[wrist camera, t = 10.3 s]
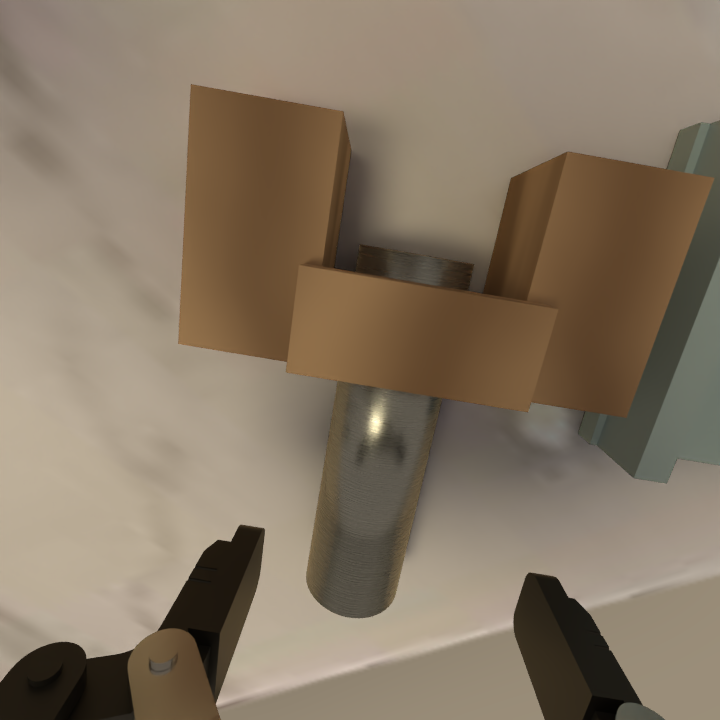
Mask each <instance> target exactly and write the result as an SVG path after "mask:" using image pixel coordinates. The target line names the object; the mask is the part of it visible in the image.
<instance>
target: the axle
mask: <svg viewBox="0 0 720 720" xmlns="http://www.w3.org/2000/svg"><path fill="white" fill-rule="evenodd" d="M473 267H474V264H470V263H464V262H459V261H453V260H448V259H442V258H436V257H431V256H425V255H419V254H414V253H408V252H402V251H397V250H391V249H385V248H379V247H374V246H368V245H362V244H360V247H359V253H358V259H357V265H356V271H355V272H358V273H364V274H370V275H376V276H382V277H387V278H393V279H399V280H405V281H411V282H417V283H423V284H429V285H434V286H440V287H446V288H452V289H458V290H464V291H468V288H469V284H470V280H471V276H472V271H473ZM441 402H442V398H438V397H432V396H426V395H420V394H414V393H408V392H402V391H396V390H390V389H384V388H378V387H372V386H366V385H360V384H354V383H348V382H341V381H338V382H337V388H336V394H335V400H334V406H333V413H332V419H331V425H330V431H329V437H328V443H327V449H326V456H325V462H324V468H323V474H322V480H321V486H320V492H319V499H318V505H317V511H316V517H315V523H314V529H313V535H312V541H311V548H310V554H309V560H308V566H307V572H306V580H307V585H308V588H309V590H310V592H311V594H312V595H313V597H314V598H315V599H316V600H317V601H318V602H319V603H320V604H321V605H322V606H323V607H325V608H326V609H328V610H329V611H331V612H333V613H336V614H338V615H341V616H345V617H350V618H366V617H371V616H374V615H377V614H379V613H381V612H383V611H384V610H386V609H387V608H388V607H389V606H390V604H391V603H392V602H393V600H394V598H395V594H396V591H397V586H398V582H399V578H400V574H401V570H402V565H403V561H404V557H405V553H406V549H407V544H408V540H409V536H410V532H411V528H412V523H413V519H414V515H415V511H416V507H417V502H418V498H419V494H420V490H421V486H422V481H423V477H424V473H425V469H426V465H427V460H428V456H429V452H430V448H431V444H432V439H433V435H434V431H435V427H436V423H437V418H438V414H439V410H440V406H441Z"/></svg>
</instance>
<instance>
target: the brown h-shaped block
mask: <svg viewBox="0 0 720 720" xmlns="http://www.w3.org/2000/svg"><path fill="white" fill-rule="evenodd" d="M350 155H351V146H350V141H349V137H348V132H347V127H346V122H345V117H344V112H343V111H337V110H332V109H326V108H321V107H315V106H309V105H304V104H298V103H293V102H287V101H281V100H276V99H270V98H264V97H259V96H253V95H248V94H242V93H236V92H231V91H225V90H220V89H214V88H208V87H203V86H197V85H192V84H191V94H190V114H189V135H188V156H187V176H186V197H185V217H184V238H183V259H182V279H181V300H180V321H179V341H178V344H183V345H189V346H195V347H201V348H207V349H213V350H219V351H225V352H231V353H237V354H243V355H249V356H255V357H261V358H267V359H273V360H279V361H285V362H287V367H286V372H287V373H293V374H299V375H305V376H311V377H317V378H323V379H329V380H335V381H341V382H348V383H354V384H360V385H366V386H372V387H378V388H384V389H390V390H396V391H402V392H408V393H414V394H420V395H426V396H432V397H438V398H444V399H451V400H457V401H463V402H469V403H475V404H481V405H487V406H493V407H499V408H505V409H511V410H517V411H523V412H528V411H529V407H530V404H531V402H533V403H539V404H545V405H551V406H557V407H563V408H569V409H575V410H581V411H587V412H593V413H599V414H605V415H611V416H617V417H624V418H627V415H628V412H629V410H630V407H631V404H632V401H633V399H634V396H635V393H636V391H637V388H638V385H639V382H640V380H641V377H642V374H643V372H644V369H645V366H646V363H647V361H648V358H649V355H650V352H651V350H652V347H653V344H654V342H655V339H656V336H657V333H658V331H659V328H660V325H661V322H662V320H663V317H664V314H665V312H666V309H667V306H668V303H669V301H670V298H671V295H672V293H673V290H674V287H675V284H676V282H677V279H678V276H679V273H680V271H681V268H682V265H683V263H684V260H685V257H686V254H687V252H688V249H689V246H690V244H691V241H692V238H693V235H694V233H695V230H696V227H697V224H698V222H699V219H700V216H701V214H702V211H703V208H704V205H705V203H706V200H707V197H708V194H709V192H710V189H711V186H712V184H713V181H714V178H713V177H707V176H702V175H696V174H690V173H685V172H679V171H674V170H668V169H662V168H657V167H651V166H646V165H640V164H634V163H629V162H623V161H618V160H612V159H606V158H601V157H595V156H590V155H584V154H578V153H573V152H566V153H564V154H562V155H560V156H557V157H555V158H553V159H551V160H549V161H547V162H545V163H543V164H540V165H538V166H536V167H534V168H532V169H530V170H528V171H526V172H523V173H521V174H519V175H517V176H515V177H513V178H511V181H510V185H509V189H508V193H507V197H506V201H505V205H504V209H503V213H502V218H501V222H500V226H499V230H498V234H497V238H496V242H495V246H494V250H493V254H492V258H491V263H490V267H489V271H488V275H487V279H486V283H485V287H484V291H483V294H481V293H475V292H470V291H464V290H458V289H452V288H446V287H440V286H434V285H429V284H423V283H417V282H411V281H405V280H399V279H393V278H387V277H382V276H376V275H370V274H364V273H358V272H352V271H346V270H341V269H335V268H334V265H335V259H336V252H337V245H338V238H339V231H340V224H341V217H342V210H343V204H344V197H345V190H346V183H347V176H348V169H349V162H350Z"/></svg>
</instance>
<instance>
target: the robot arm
mask: <svg viewBox="0 0 720 720" xmlns="http://www.w3.org/2000/svg"><path fill="white" fill-rule="evenodd" d="M264 535H265V529H264V528H258V527H252V526H246V525H240V526H239V527H238V529H237V531H236V533H235V535H234V537H233V539H232V541H231V542H228V541H222V540H217V541H216V542H215V543H213V544H212V545H211V546H210V547H208V548H207V549H206V550H205V551H204V552H203V554H202V555H201V557H200V559H199V561H198V562H197V564H196V566H195V568H194V569H193V571H192V573H191V574H190V576H189V579H188V581H186V583H185V585H184V587H183V588H182V590H181V592H180V594H179V595H178V597H177V599H176V601H175V602H174V604H173V606H172V607H171V609H170V611H169V613H168V614H167V616H166V618H165V620H164V621H163V623H162V625H161V626H160V628H159V629H158V631H157V632H155V633H152V634H151V635H149V636H147V637H146V638H145V639H143V640H142V641H141V642H140V643H139V644H138V645H137V646H136V647H135V649H133V650H131V651H128V652H125V653H121V654H116V655H110V656H103V657H96V658H90V659H86V654H85V652H84V650H83V649H82V648H81V647H80V646H79V645H77V644H74V643H70V642H57V643H52V644H48V645H46V646H43V647H40V648H38V649H36V650H34V651H33V652H31V653H29V654H28V655H26V656H25V657H23V658H22V659H21V660H20V661H19V662H18V663H16V664H15V665H14V667H13V668H12V669H11V670H10V671H9V672H8V674H7V675H6V676H5V677H4V679H3V680H2V681H1V682H0V720H221V719H220V716H219V713H218V710H217V707H216V702H217V699H218V696H219V693H220V691H221V688H222V685H223V682H224V679H225V676H226V674H227V671H228V668H229V665H230V662H231V660H232V657H233V654H234V651H235V648H236V646H237V643H238V640H239V637H240V634H241V632H242V629H243V626H244V623H245V620H246V617H247V615H248V612H249V609H250V606H251V603H252V601H253V598H254V595H255V592H256V589H257V585H258V581H259V576H260V570H261V561H262V553H263V544H264ZM513 623H514V633H515V637H516V640H517V643H518V645H519V648H520V651H521V654H522V656H523V659H524V662H525V665H526V668H527V671H528V674H529V676H530V679H531V682H532V685H533V687H534V690H535V693H536V696H537V699H538V701H539V705H540V707H541V710H542V713H543V716H544V719H545V720H664V718H662V717H661V716H660V715H658V714H657V713H656V712H654V711H652V710H650V709H649V708H647V707H645V706H643V705H642V703H641V701H640V700H639V698H638V696H637V694H636V693H635V691H634V689H633V688H632V686H631V684H630V682H629V681H628V679H627V677H626V676H625V674H624V672H623V671H622V669H621V667H620V665H619V664H618V662H617V660H616V658H615V657H614V655H613V653H612V652H611V651H610V650H609V646H608V645H607V643H606V641H605V639H604V638H603V636H601V635H600V631H599V629H598V628H597V626H596V624H595V622H594V620H593V619H592V617H591V615H590V614H589V613H588V612H587V611H586V610H585V609H584V608H583V607H582V606H581V605H580V604H579V603H578V602H577V601H576V600H575V599H573V598H568V596H567V594H566V593H565V591H564V589H563V587H562V585H561V583H560V582H559V580H558V579H557V578H556V577H554V576H548V575H542V574H536V573H528V574H527V576H526V578H525V581H524V584H523V587H522V590H521V593H520V596H519V600H518V603H517V606H516V609H515V613H514V621H513Z"/></svg>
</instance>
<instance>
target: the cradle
mask: <svg viewBox="0 0 720 720" xmlns="http://www.w3.org/2000/svg"><path fill="white" fill-rule="evenodd" d="M667 169H668V170H674V171H679V172H685V173H690V174H696V175H702V176H707V177H713V178H714V181H713V184H712V186H711V189H710V192H709V194H708V197H707V200H706V203H705V205H704V208H703V211H702V214H701V216H700V219H699V222H698V224H697V227H696V230H695V233H694V235H693V238H692V241H691V244H690V246H689V249H688V252H687V254H686V257H685V260H684V263H683V265H682V268H681V271H680V273H679V276H678V279H677V282H676V284H675V287H674V290H673V293H672V295H671V298H670V301H669V303H668V306H667V309H666V312H665V314H664V317H663V320H662V322H661V325H660V328H659V331H658V333H657V336H656V339H655V342H654V344H653V347H652V350H651V352H650V355H649V358H648V361H647V363H646V366H645V369H644V372H643V374H642V377H641V380H640V382H639V385H638V388H637V391H636V393H635V396H634V399H633V401H632V404H631V407H630V410H629V412H628V415H627V418H624V417H617V416H611V415H605V414H599V413H593V412H587V411H585V414H584V417H583V420H582V423H581V426H580V429H579V432H578V434H579V435H580V436H581V437H582V438H584V439H585V440H586V441H587V442H588V443H589V444H592V445H597V446H598V447H599V448H600V449H602V450H603V451H604V452H605V453H606V454H607V455H608V456H609V457H611V458H612V459H613V460H614V461H615V462H616V463H617V464H618V465H620V466H621V467H622V468H623V469H624V470H625V471H626V472H627V473H629V474H630V475H631V476H632V477H633V478H636V479H642V480H648V481H654V482H660V483H666V484H667V482H668V480H669V477H670V475H671V472H672V470H673V468H674V465H675V463H676V460H677V459H683V460H689V461H695V462H702V463H708V464H714V465H720V121H717V122H714V123H712V124H708V123H702V122H701V123H698V124H696V125H693V126H690V127H688V128H685V129H682V130H680V132H679V135H678V138H677V141H676V144H675V147H674V150H673V153H672V156H671V159H670V162H669V165H668V168H667Z"/></svg>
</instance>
